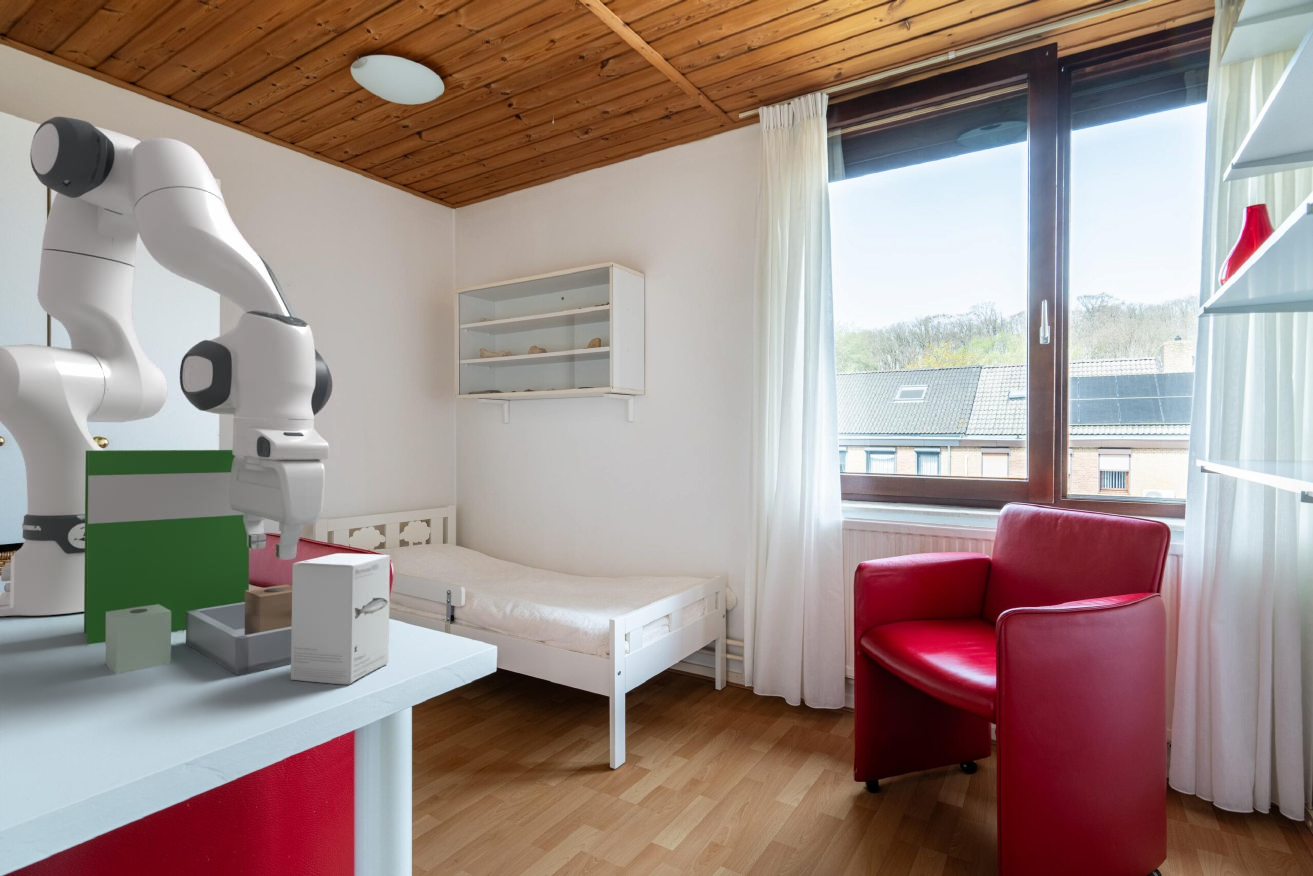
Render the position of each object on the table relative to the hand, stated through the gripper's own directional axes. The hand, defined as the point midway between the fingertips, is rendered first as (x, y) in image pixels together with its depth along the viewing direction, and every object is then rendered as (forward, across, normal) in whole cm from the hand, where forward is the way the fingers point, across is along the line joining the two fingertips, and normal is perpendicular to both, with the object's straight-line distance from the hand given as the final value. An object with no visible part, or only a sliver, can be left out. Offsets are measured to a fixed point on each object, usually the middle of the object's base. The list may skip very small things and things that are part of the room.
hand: (270, 553), depth 86 cm
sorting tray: (+11, +1, 0) cm, 11 cm away
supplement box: (+11, +17, +2) cm, 20 cm away
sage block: (+12, -3, -13) cm, 17 cm away
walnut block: (+11, +1, 0) cm, 11 cm away
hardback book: (+12, -19, -6) cm, 23 cm away
